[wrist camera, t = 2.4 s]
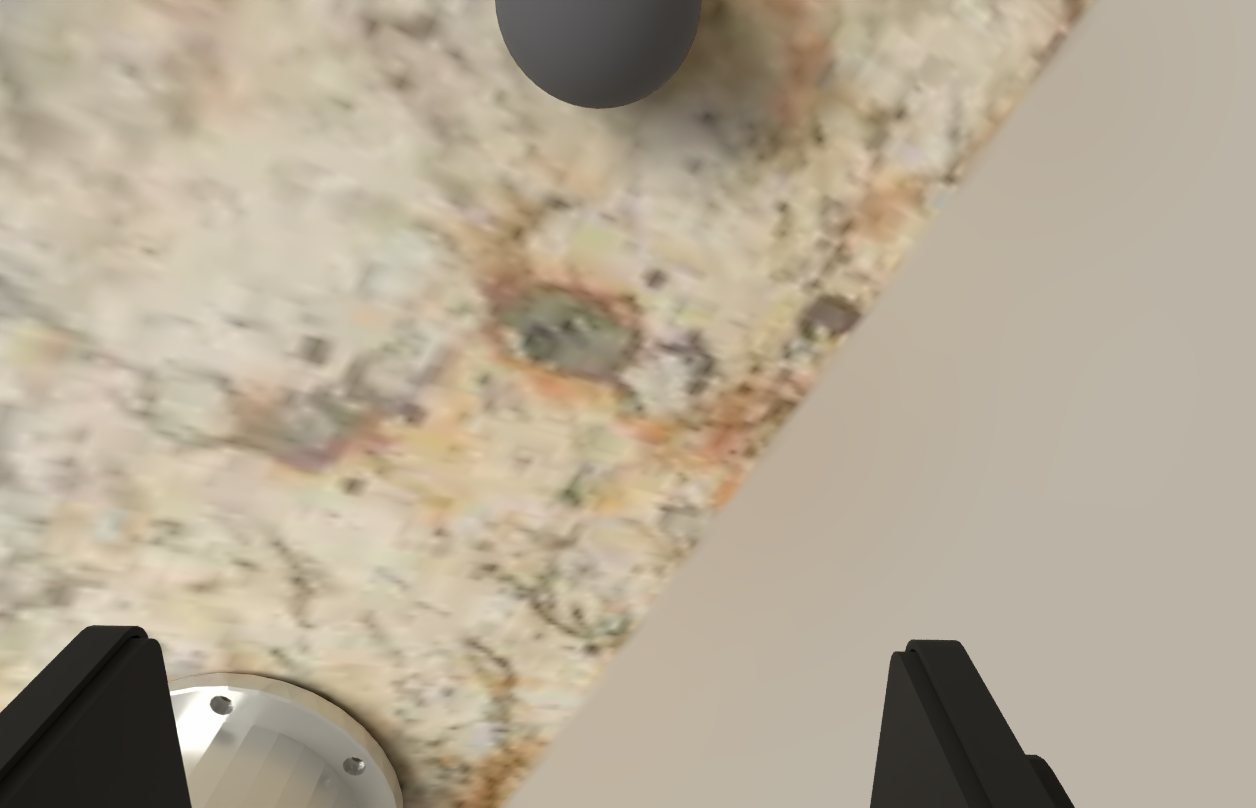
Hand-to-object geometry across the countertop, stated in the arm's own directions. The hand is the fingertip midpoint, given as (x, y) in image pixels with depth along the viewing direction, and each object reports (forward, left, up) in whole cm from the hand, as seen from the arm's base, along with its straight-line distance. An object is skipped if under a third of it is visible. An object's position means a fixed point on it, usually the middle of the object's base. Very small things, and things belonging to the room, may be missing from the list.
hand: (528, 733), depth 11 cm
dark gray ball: (+9, 0, -17) cm, 20 cm away
